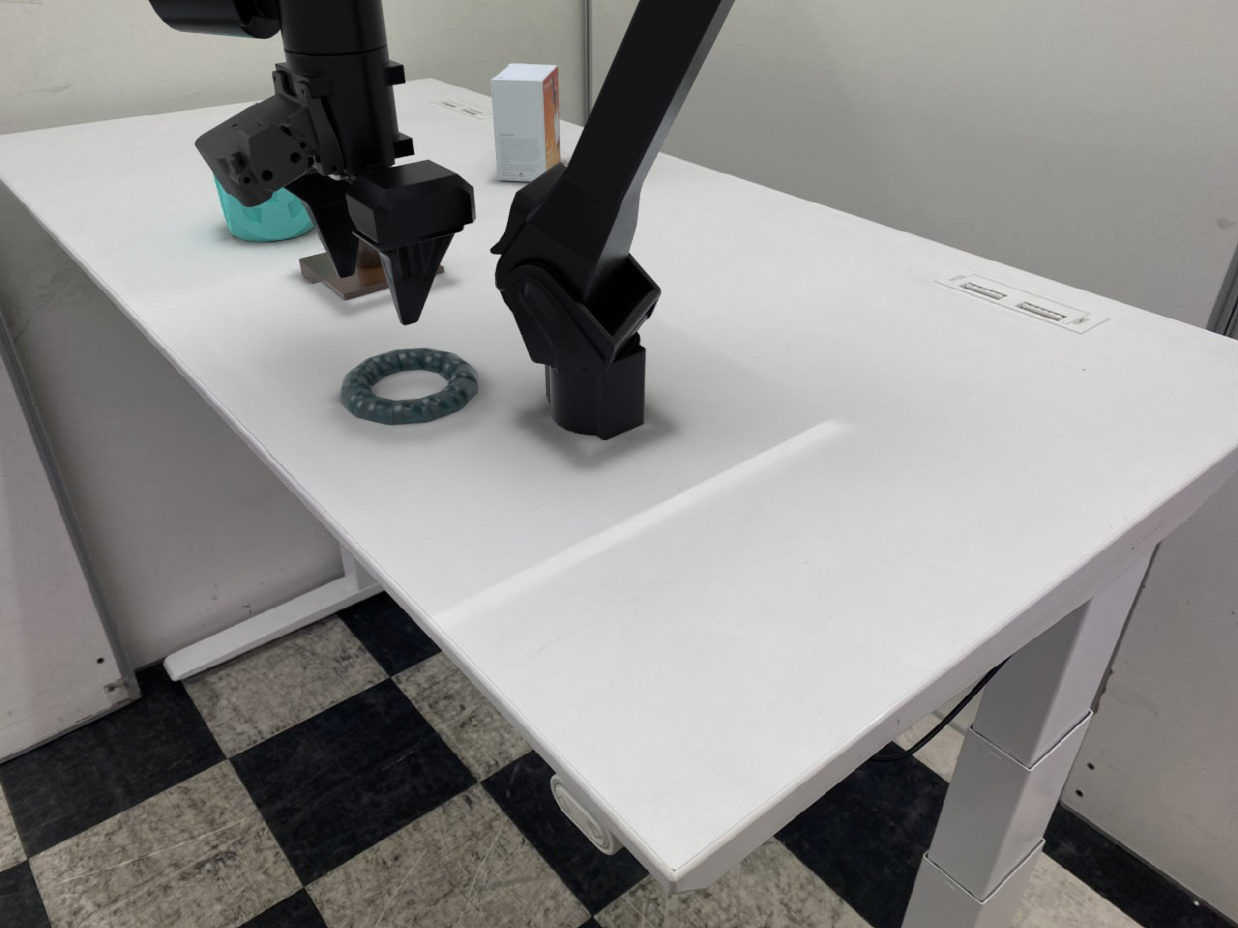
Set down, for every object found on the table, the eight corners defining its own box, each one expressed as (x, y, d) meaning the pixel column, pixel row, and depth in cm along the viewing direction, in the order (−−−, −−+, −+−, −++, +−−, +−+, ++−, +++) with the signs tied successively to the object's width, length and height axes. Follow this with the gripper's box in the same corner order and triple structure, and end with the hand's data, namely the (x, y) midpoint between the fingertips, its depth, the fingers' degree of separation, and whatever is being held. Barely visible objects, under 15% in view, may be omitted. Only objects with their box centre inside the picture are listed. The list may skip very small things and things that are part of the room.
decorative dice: (224, 220, 90) (203, 136, 86) (307, 207, 93) (291, 126, 89) (237, 248, 85) (215, 159, 80) (325, 233, 88) (309, 147, 83)
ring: (504, 406, 62) (502, 380, 61) (382, 453, 58) (377, 426, 56) (437, 356, 68) (434, 331, 67) (321, 394, 63) (316, 369, 62)
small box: (546, 184, 100) (542, 81, 94) (496, 181, 100) (489, 78, 94) (562, 162, 106) (559, 64, 100) (514, 159, 107) (509, 62, 101)
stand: (445, 282, 79) (436, 196, 74) (347, 311, 74) (330, 220, 70) (396, 250, 84) (384, 168, 80) (301, 275, 80) (284, 189, 75)
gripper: (139, 36, 54) (206, 284, 63) (257, 100, 42) (319, 393, 51) (319, 16, 60) (357, 246, 69) (468, 67, 48) (491, 336, 57)
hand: (376, 298), depth 61 cm, fingers open, 9 cm apart
